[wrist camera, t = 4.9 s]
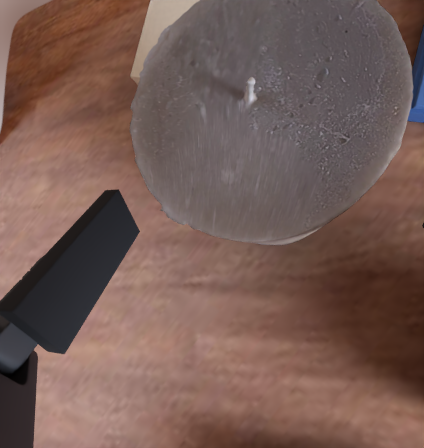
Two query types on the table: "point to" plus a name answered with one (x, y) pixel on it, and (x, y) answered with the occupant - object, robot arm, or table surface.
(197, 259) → the table surface
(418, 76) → the blue dish cloth
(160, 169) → the pillar candle
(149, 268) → the table surface
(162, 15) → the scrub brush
